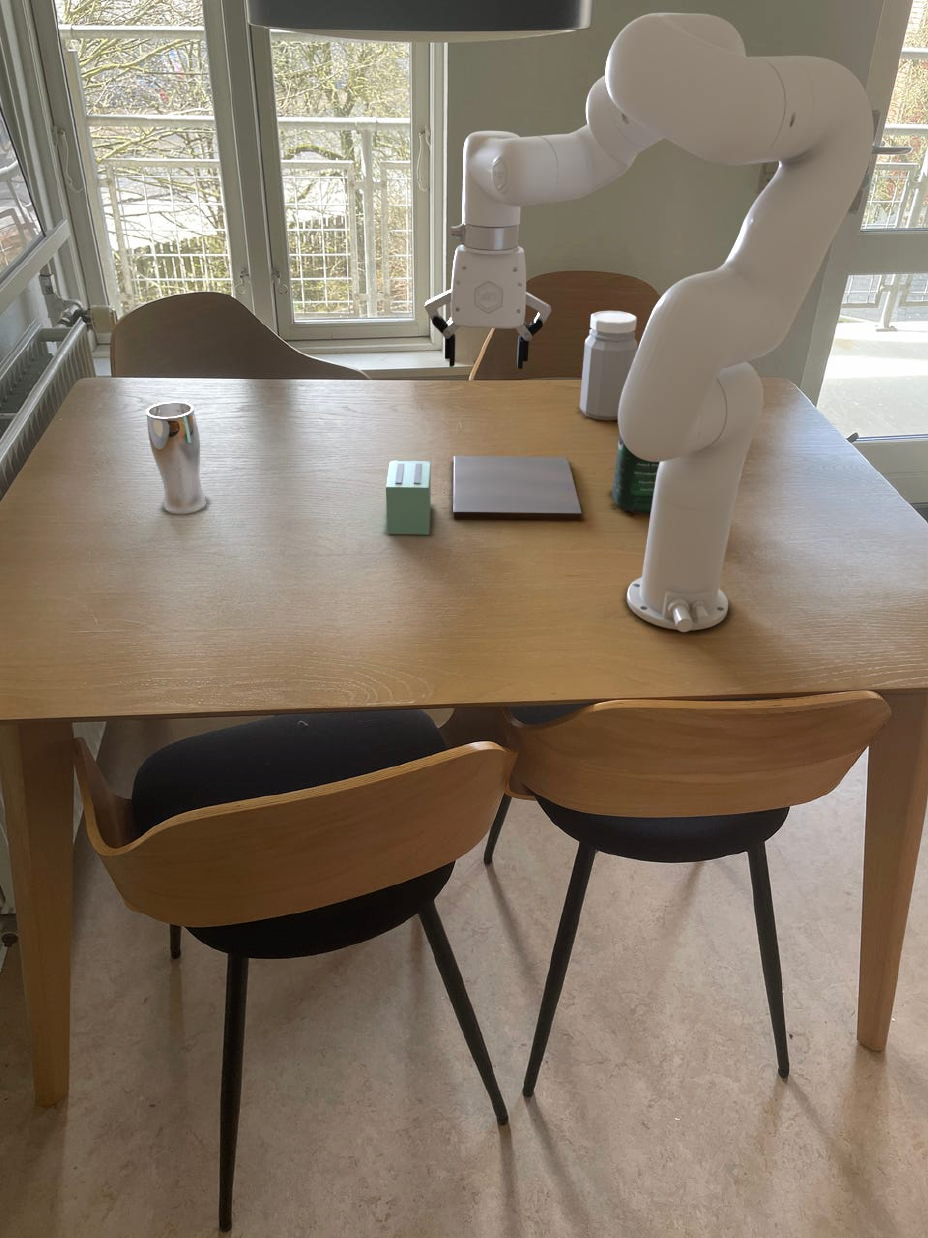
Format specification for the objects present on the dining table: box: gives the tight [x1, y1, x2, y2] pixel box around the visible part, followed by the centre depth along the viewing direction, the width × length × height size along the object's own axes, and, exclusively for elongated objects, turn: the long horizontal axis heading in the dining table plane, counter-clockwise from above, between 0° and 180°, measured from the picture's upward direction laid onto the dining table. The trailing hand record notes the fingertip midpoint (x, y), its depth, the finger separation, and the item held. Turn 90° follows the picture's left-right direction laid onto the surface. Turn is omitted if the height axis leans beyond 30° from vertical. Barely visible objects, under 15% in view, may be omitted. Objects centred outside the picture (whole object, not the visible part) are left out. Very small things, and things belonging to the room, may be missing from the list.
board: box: [453, 455, 583, 521], centre depth 146 cm, size 21×19×1 cm
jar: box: [579, 310, 638, 421], centre depth 171 cm, size 10×10×18 cm
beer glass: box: [145, 401, 207, 515], centre depth 136 cm, size 7×7×15 cm
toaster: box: [385, 460, 432, 536], centre depth 135 cm, size 10×6×8 cm, turn 0°
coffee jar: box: [611, 433, 660, 515], centre depth 138 cm, size 10×8×19 cm
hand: (485, 364), depth 132 cm, fingers open, 9 cm apart
